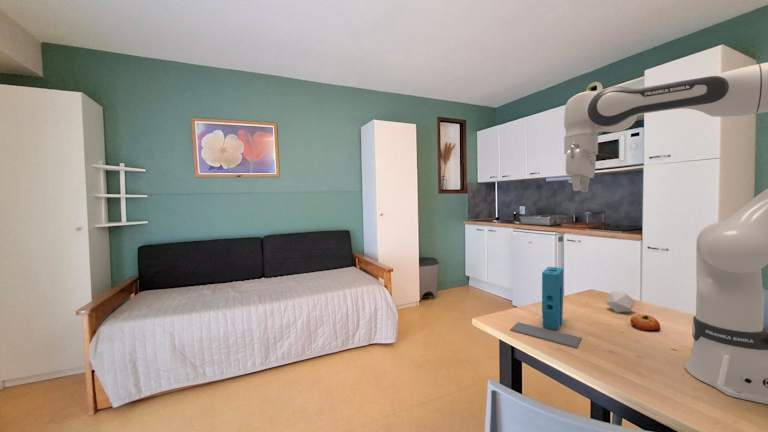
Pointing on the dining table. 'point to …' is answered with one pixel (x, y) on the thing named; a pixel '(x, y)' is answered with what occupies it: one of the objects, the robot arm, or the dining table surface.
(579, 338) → the mat
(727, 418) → the dining table surface
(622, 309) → the die
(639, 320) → the tomato
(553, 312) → the block
